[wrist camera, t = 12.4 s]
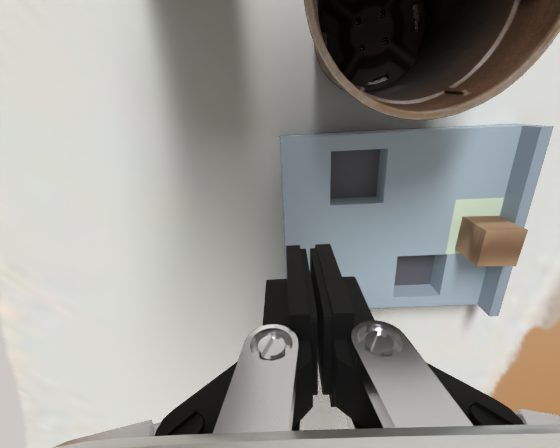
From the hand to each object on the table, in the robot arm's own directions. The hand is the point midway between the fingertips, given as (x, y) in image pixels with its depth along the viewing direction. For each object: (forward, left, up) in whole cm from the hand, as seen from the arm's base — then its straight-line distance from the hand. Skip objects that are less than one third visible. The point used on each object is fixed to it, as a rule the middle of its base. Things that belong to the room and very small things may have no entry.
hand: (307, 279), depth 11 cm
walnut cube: (+10, +23, -24) cm, 35 cm away
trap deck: (+9, +13, -27) cm, 31 cm away
